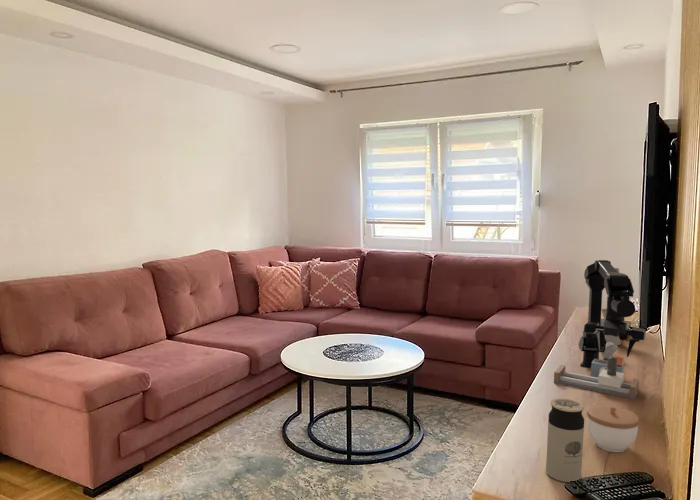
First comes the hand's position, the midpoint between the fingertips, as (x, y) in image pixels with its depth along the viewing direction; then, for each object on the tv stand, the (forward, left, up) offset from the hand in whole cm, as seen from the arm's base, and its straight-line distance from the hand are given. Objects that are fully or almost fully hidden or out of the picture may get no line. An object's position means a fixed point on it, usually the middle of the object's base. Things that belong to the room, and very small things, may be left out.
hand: (612, 354), depth 183 cm
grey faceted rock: (-38, -7, -13) cm, 41 cm away
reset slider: (-11, 0, -6) cm, 13 cm away
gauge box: (-11, -3, -13) cm, 17 cm away
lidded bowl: (+46, +7, -13) cm, 48 cm away
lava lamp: (-65, -10, -13) cm, 67 cm away
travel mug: (+69, 0, -13) cm, 70 cm away
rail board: (0, -5, -13) cm, 14 cm away
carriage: (0, 0, -10) cm, 10 cm away
